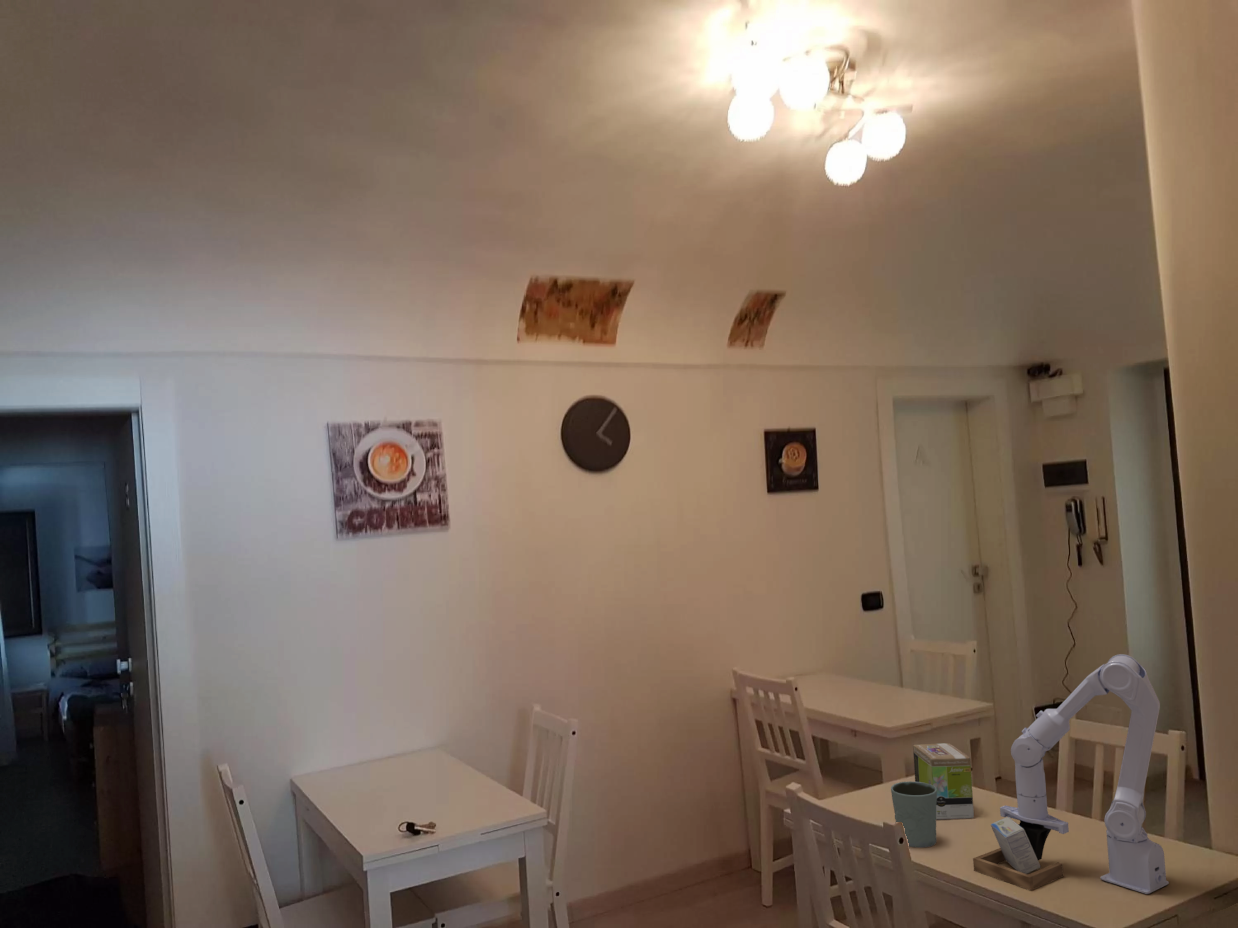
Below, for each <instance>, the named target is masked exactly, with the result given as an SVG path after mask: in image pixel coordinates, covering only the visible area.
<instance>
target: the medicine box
mask: <svg viewBox="0 0 1238 928" xmlns="http://www.w3.org/2000/svg"><path fill="white" fill-rule="evenodd" d="M990 827H991V829H992V832H993V834H994V837H995V839H996V840H997V841H996V842H997V843H998V846H999V848H1001V851H1002V853H1003V855H1004V857H1005V860H1006V861H1005V862H1007V863H1008V865H1010V866H1011V867H1012V868H1013V869H1014V870H1016V871H1019V872H1022V873H1024V874H1027V875H1028V874H1031V873H1033V872H1035V871H1038V870H1040V869H1041V865H1040V862H1039V860H1037V857H1036V855H1035V853H1034V851H1033V848H1032V846H1031V844H1030V842H1029V839H1028V837H1027V835H1026V832H1025V830H1024V829H1023V828H1022V827H1021V826H1019V825H1018V823H1017V822H1016V821H1014V820H1013V818H1010V817H1003V818H1001V819H999V820H997V821H995V822H992V823H991V824H990Z"/></svg>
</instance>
